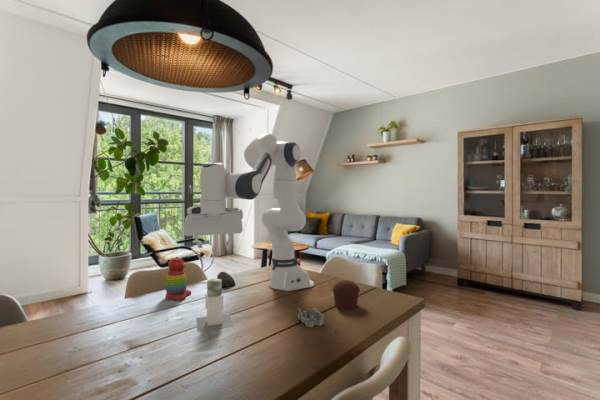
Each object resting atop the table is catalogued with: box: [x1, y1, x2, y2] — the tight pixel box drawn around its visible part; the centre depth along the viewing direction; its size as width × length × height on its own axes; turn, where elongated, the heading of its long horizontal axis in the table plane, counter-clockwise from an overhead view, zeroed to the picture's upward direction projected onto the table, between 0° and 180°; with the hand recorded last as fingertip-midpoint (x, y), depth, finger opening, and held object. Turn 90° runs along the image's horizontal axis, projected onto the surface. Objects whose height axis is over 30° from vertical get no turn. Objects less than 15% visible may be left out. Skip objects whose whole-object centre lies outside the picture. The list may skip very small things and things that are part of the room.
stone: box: [216, 271, 236, 288], centre depth 159 cm, size 10×8×10 cm
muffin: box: [331, 279, 361, 310], centre depth 131 cm, size 12×11×10 cm
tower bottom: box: [206, 309, 223, 326], centre depth 113 cm, size 5×5×5 cm
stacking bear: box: [164, 256, 192, 302], centre depth 142 cm, size 11×10×18 cm
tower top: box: [204, 293, 224, 312], centre depth 113 cm, size 5×5×5 cm
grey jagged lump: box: [296, 307, 325, 328], centre depth 116 cm, size 11×8×4 cm
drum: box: [206, 278, 223, 297], centre depth 113 cm, size 5×5×5 cm
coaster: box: [196, 313, 234, 333], centre depth 113 cm, size 12×12×1 cm
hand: (213, 247), depth 113 cm, fingers open, 8 cm apart
